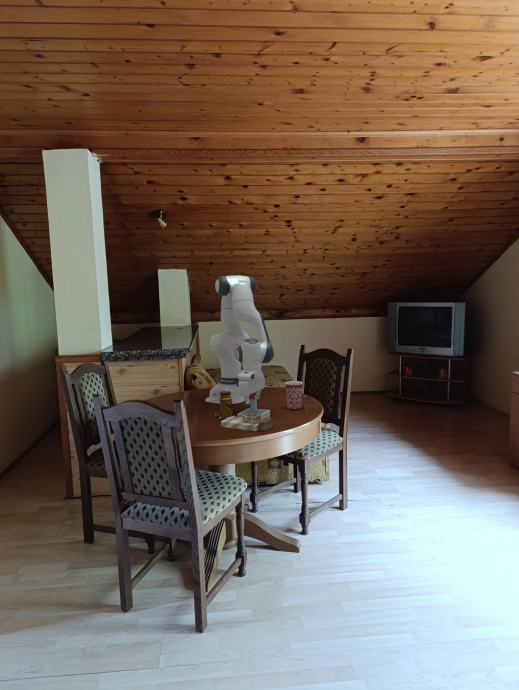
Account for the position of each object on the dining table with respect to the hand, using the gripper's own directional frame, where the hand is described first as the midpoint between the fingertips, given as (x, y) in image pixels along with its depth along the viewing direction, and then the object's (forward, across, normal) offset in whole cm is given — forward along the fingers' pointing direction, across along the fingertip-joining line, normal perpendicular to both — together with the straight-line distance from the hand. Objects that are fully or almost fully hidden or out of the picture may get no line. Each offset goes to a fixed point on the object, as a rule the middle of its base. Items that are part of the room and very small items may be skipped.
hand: (252, 401), depth 220 cm
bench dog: (+8, +12, +13) cm, 19 cm away
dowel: (+8, 0, +1) cm, 8 cm away
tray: (+9, 0, +1) cm, 9 cm away
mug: (+9, -28, +9) cm, 31 cm away
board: (+9, +12, +1) cm, 15 cm away
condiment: (+9, 0, -16) cm, 19 cm away
